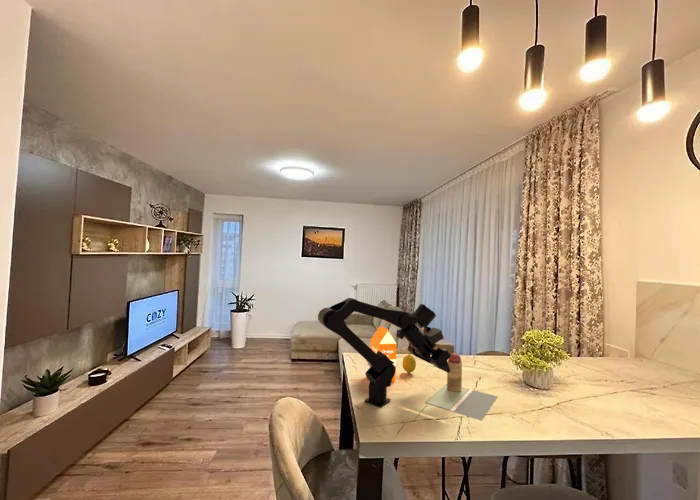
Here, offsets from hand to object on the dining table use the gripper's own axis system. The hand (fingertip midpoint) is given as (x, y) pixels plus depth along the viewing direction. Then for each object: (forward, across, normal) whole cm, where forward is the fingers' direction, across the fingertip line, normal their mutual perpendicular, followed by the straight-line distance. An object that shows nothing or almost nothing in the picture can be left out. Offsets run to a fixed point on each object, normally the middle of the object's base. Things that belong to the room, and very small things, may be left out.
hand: (441, 367), depth 115 cm
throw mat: (+8, -8, +4) cm, 12 cm away
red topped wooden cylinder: (+10, 0, +2) cm, 10 cm away
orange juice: (-3, +19, +16) cm, 25 cm away
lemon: (+6, +21, +7) cm, 23 cm away
